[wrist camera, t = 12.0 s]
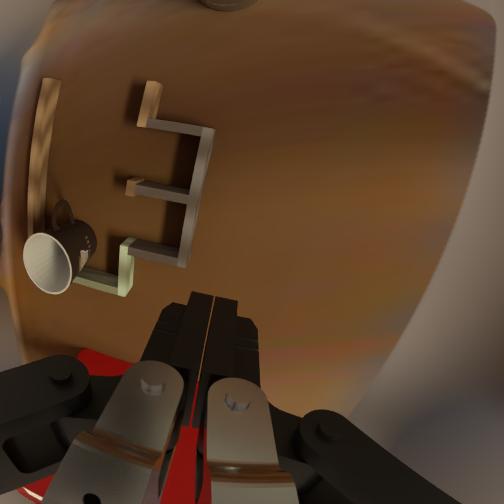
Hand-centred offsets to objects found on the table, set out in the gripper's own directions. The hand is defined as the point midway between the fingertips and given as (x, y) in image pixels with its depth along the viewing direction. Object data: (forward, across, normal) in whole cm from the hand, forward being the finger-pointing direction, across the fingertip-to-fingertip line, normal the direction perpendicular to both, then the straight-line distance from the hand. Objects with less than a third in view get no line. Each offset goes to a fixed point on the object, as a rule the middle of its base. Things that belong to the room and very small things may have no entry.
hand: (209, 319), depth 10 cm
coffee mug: (+32, +22, +12) cm, 41 cm away
